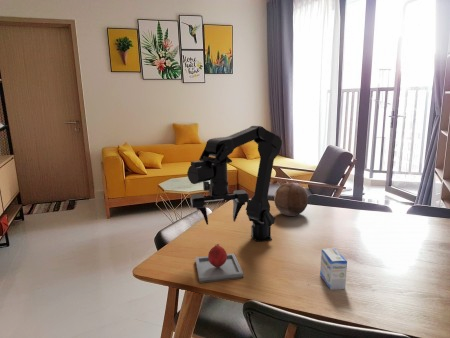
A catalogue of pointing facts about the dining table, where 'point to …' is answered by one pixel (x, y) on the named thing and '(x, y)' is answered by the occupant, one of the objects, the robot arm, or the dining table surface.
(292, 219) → the dining table surface
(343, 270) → the medicine box
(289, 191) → the wooden sphere
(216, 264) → the onion
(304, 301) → the dining table surface
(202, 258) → the dish
